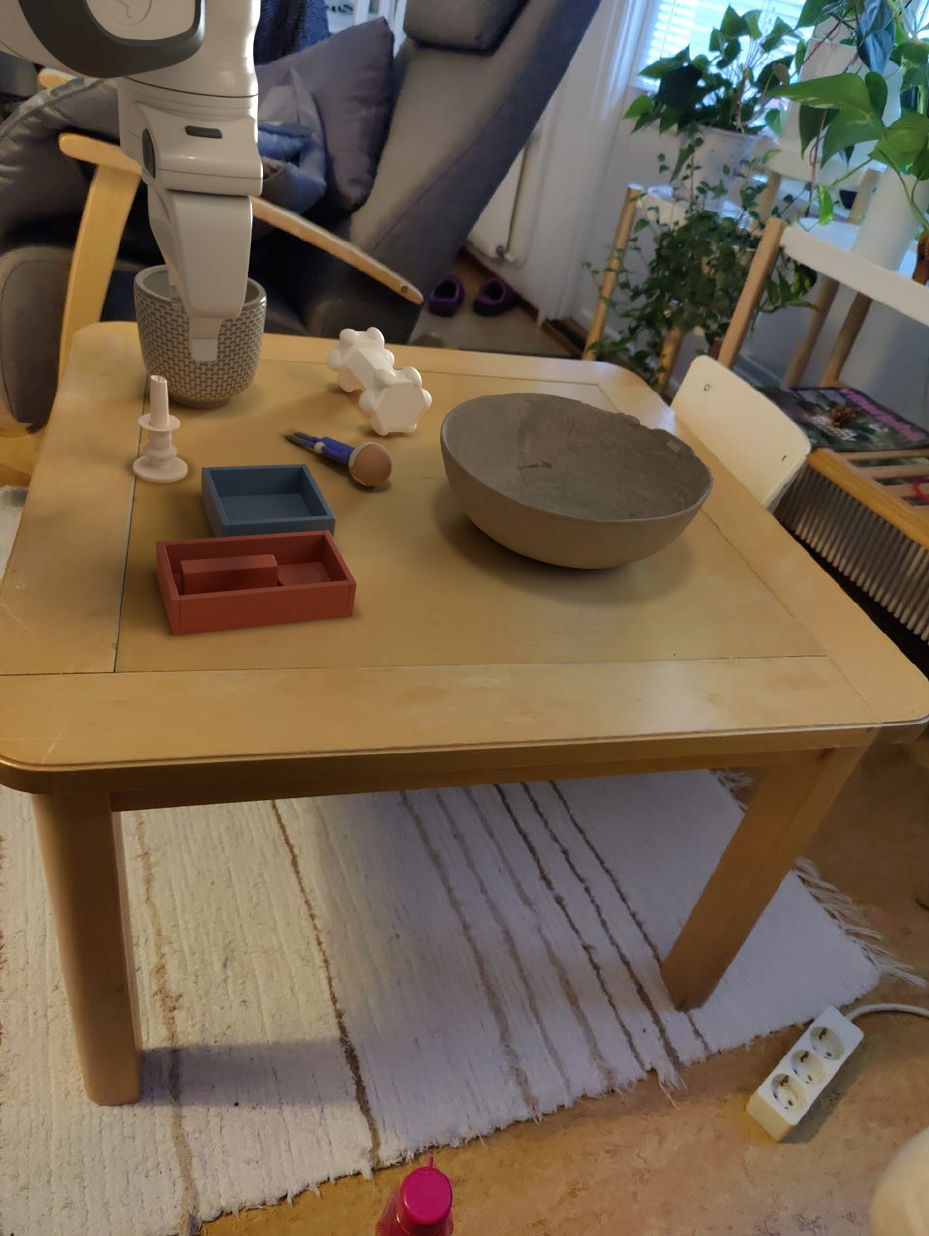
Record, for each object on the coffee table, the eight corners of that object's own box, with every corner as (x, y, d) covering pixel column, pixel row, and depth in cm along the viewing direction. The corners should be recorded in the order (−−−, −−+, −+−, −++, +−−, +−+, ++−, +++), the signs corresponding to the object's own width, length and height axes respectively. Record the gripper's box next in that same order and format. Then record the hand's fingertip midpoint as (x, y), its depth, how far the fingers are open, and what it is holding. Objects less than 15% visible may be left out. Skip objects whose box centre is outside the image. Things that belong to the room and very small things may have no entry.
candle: (183, 457, 90) (182, 361, 84) (191, 482, 87) (191, 384, 81) (129, 458, 88) (125, 360, 82) (136, 484, 85) (132, 384, 78)
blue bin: (222, 559, 78) (222, 525, 76) (201, 499, 85) (201, 467, 83) (332, 550, 82) (335, 518, 80) (303, 494, 89) (306, 463, 87)
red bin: (172, 637, 68) (171, 600, 66) (156, 576, 74) (155, 541, 72) (352, 617, 75) (356, 583, 72) (325, 562, 80) (328, 529, 78)
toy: (270, 450, 97) (367, 491, 89) (279, 409, 96) (378, 447, 88) (300, 453, 101) (395, 493, 93) (308, 414, 100) (406, 451, 92)
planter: (264, 427, 99) (270, 314, 91) (134, 419, 95) (129, 300, 87) (258, 376, 109) (263, 271, 102) (141, 367, 105) (136, 256, 98)
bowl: (730, 569, 93) (766, 488, 87) (542, 636, 78) (571, 542, 72) (561, 450, 109) (582, 374, 103) (376, 486, 93) (389, 399, 87)
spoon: (186, 612, 70) (186, 580, 68) (178, 585, 73) (178, 553, 71) (326, 599, 75) (329, 568, 73) (314, 573, 78) (317, 543, 76)
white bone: (429, 438, 105) (440, 373, 100) (361, 440, 101) (370, 374, 96) (383, 384, 115) (391, 323, 110) (320, 385, 111) (326, 322, 106)
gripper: (122, 93, 64) (133, 282, 73) (160, 165, 50) (167, 389, 59) (210, 104, 67) (210, 286, 75) (269, 175, 53) (261, 389, 61)
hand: (192, 332), depth 67 cm, fingers open, 8 cm apart
